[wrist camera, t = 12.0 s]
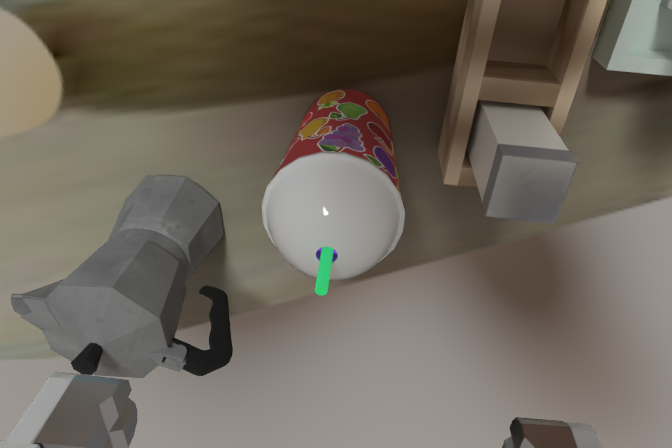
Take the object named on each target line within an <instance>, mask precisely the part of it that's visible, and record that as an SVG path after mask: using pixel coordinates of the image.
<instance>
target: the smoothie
mask: <svg viewBox="0 0 672 448" xmlns="http://www.w3.org/2000/svg"><path fill="white" fill-rule="evenodd" d="M261 206H262V219H263V225H264V227H265V229H266V231H267V234H268V236H269V238H270V240H271V242H272V243H273V244H274V245H275V246H276V248H277V250H278V252H279V253H280V254H281V255H282V256H283V258H284V259H285V260H286V261H287V262H288V263H289V264H290V265H291V266H292V267H293V268H295V269H296V270H298V271H300V272H301V273H303V274H305V275H307V276H310V277H313V278H316V279H317V280H316V286H315V292H316V294H318V295H320V296H321V295H325V294H327V292H328V286H329V281H340V280H345V279H351V278H354V277H356V276H358V275H360V274H362V273H364V272H366V271H368V270H370V269H371V268H373V267H374V266H375V265H376V264H377V263H379V262H381V261H382V260H383V259H384V258H385V257H386V256H387V255H388V254H389V253H390V252H391V251H392V250H393V249H395V247H396V245H397V243H398V241H399V239H400V237H401V235H402V233H403V230H404V221H405V209H404V206H403V202H402V197H401V191H400V184H399V178H398V172H397V166H396V160H395V154H394V148H393V142H392V136H391V130H390V124H389V121H388V118H387V114H386V112H385V111H384V110H383V108H382V107H381V105H380V104H379V103H378V102H377V101H376V100H374V99H373V98H372V97H370V96H369V95H367V94H365V93H362V92H359V91H356V90H348V89H338V90H335V91H332V92H329V93H326V94H324V95H323V96H321V97H320V98H318V99H317V100H316V101H314V103H313V104H312V105H311V107H310V108H309V110H308V111H307V113H306V115H305V117H304V119H303V121H302V122H301V124H300V126H299V128H298V130H297V132H296V134H295V136H294V138H293V140H292V142H291V144H290V146H289V148H288V150H287V152H286V153H285V155H284V157H283V159H282V161H281V163H280V165H279V167H278V169H277V171H276V173H275V175H274V177H273V179H272V181H271V182H270V183H269V184H268V186H267V188H266V191H265V194H264V198H263V201H262V204H261Z"/></svg>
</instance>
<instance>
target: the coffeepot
mask: <svg viewBox="0 0 672 448" xmlns="http://www.w3.org/2000/svg"><path fill="white" fill-rule="evenodd" d="M223 235H224V232H223V225H222V215H221V211H220V208H219V203H218V202H217V201H216V200H215V199H214V198H213V197H212V196H211V195H210V194H209V193H208V192H207V191H206V190H205V189H204V188H202V187H201V186H200V185H198V184H197V183H195V182H193V181H191V180H189V179H188V178H187V177H182V176H173V175H158V176H146V177H145V178H144V180H143V181H142V182H141V183H140V184H139V185H138V186H137V188H136V189H135V190H134V191H133V192H132V193H131V194H130V195H129V197H128V198H127V199H126V201H125V203H124V205H123V207H122V210H121V212H120V214H119V217H118V219H117V221H116V223H115V226H114V228H113V230H112V233H111V235H110V237H109V239H108V241H107V242H106V243H105V244H104V245H103V246H101V247H100V248H99V249H98V250H97V251H96V252H95V253H94V254H92V255H91V256H90V257H89V258H88V259H87V260H86V261H85V262H83V263H82V264H81V265H80V266H79V267H78V268H77V269H76V270H74V271H73V272H72V273H71V274H70V275H69V276H68V277H67V278H65V279H63V280H60V281H58V282H55V283H52V284H50V285H47V286H44V287H42V288H39V289H36V290H33V291H30V292H27V293H24V294H12V295H11V304H12V307H13V309H14V311H15V312H17V313H19V314H20V315H22V316H21V317H22V318H23V319H25V320H26V321H28V322H30V323H31V324H33V325H35V326H36V327H38V328H39V329H41V330H43V333H44V335H45V337H46V339H47V341H48V343H49V345H50V348H51V349H52V350H53V351H55V352H57V353H58V354H60V355H62V356H64V357H65V358H67V359H69V360H70V361H72V362H71V364H72V367H73V369H74V370H76V371H78V372H80V373H81V374H87V375H92V374H94V375H102V376H118V377H134V378H143V377H145V376H146V375H147V374H148V373H149V372H151V371H152V370H153V369H155V368H156V367H157V366H158V365H160V366H163V367H166V368H169V369H173V370H176V371H180V369H182V370H186V371H188V372H190V373H192V374H194V375H197V376H203V375H206V374H208V373H210V372H212V371H214V370H217V369H219V368H221V367H223V366H225V365H226V364H228V363H229V361H230V358H231V356H232V342H231V333H230V321H229V309H228V299H227V294H226V293H225V292H224V291H222V290H220V289H217V288H214V287H210V286H204V287H203V288H201V290H200V291H199V293H200V294H203V295H205V296H207V297H209V298H210V299H211V300H212V302H213V305H212V308H211V311H210V315H209V317H210V321H211V332H210V336H209V345H210V349H209V350H206V351H205V350H201V349H198V348H196V347H194V346H191V345H190V344H188V343H185V342H183V341H180V340H178V339H176V338H174V336H175V332H176V329H177V325H178V321H179V317H180V313H181V309H182V305H183V301H184V297H185V293H186V287H185V281H186V280H187V279H188V278H189V277H190V276H191V275H192V273H193V272H194V271H195V270H196V269H197V268H198V266H199V265H200V264H201V263H202V261H203V260H204V259H205V258H206V256H207V255H208V254H209V253H210V251H211V250H212V249H213V248H214V246H215V245H216V244H217V243H218V242H219V240H220V239H221V238H222V237H223Z"/></svg>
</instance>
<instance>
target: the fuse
mask: <svg viewBox="0 0 672 448" xmlns="http://www.w3.org/2000/svg"><path fill="white" fill-rule="evenodd" d="M466 148H467V152H468V155H469V159H470V162H471V166H472V169H473V173H474V176H475V179H476V183H477V186H478V190H479V193H480V197H481V200H482V208H483V211H484V215H485V217H492V218H501V219H511V220H521V221H531V222H540V223H550V224H555V222H556V220H557V217H558V214H559V212H560V209H561V206H562V204H563V201H564V198H565V196H566V193H567V190H568V188H569V185H570V182H571V180H572V177H573V174H574V172H575V169H576V167H577V164H578V161H577V160H576V158H575V157H574V155H573V154H572V152H571V151H569V150H568V149H567V147H566V146H565V144H564V142H563V141H562V139H561V138H560V136H559V135H558V133H557V132H556V130H555V129H554V127H553V126H552V124H551V123H550V121H549V120H548V118H547V117H546V115H545V114H544V112H543V111H542V109H541V108H540V106H537V105H527V104H517V103H506V102H496V101H485V100H477V105H476V109H475V113H474V117H473V122H472V126H471V130H470V134H469V139H468V143H467V147H466Z"/></svg>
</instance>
